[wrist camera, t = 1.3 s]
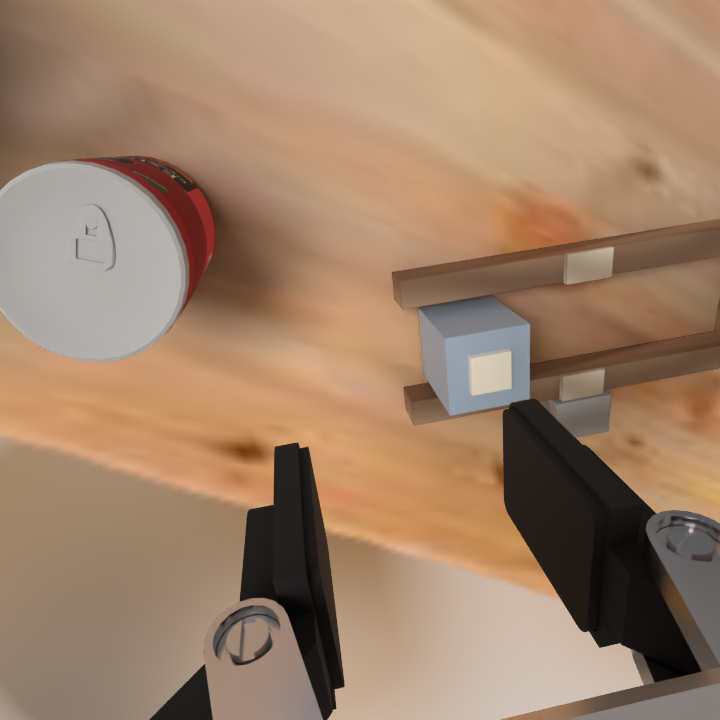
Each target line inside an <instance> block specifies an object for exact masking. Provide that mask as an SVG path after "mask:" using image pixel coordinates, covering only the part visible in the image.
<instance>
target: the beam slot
mask: <svg viewBox="0 0 720 720" xmlns="http://www.w3.org/2000/svg"><path fill="white" fill-rule="evenodd" d="M717 256H720V219H718V220H712V221H706V222H699V223H693V224H687V225H681V226H675V227H668V228H662V229H656V230H650V231H644V232H638V233H631V234H625V235H619V236H613V237H607V238H601V239H594V240H588V241H582V242H576V243H570V244H564V245H557V246H551V247H545V248H539V249H533V250H527V251H520V252H514V253H508V254H502V255H496V256H490V257H483V258H477V259H471V260H465V261H459V262H453V263H446V264H440V265H434V266H428V267H422V268H416V269H409V270H403V271H397V272H392V279H393V289H394V298H395V300H396V301H397V303H398V304H399V305H400V307H401V308H402V309H409V308H415V307H421V306H427V305H433V304H439V303H444V302H450V301H456V300H462V299H468V298H474V297H480V296H486V295H492V294H498V293H504V292H510V291H516V290H522V289H528V288H533V287H539V286H545V285H551V284H557V283H563V282H564V284H566V285H568V284H574V283H580V282H586V281H592V280H598V279H604V278H610V277H612V274H617V273H622V272H628V271H634V270H640V269H646V268H652V267H658V266H664V265H670V264H676V263H682V262H688V261H694V260H700V259H706V258H711V257H717ZM718 368H720V301H719V307H718V313H717V319H716V325H715V331H711V332H705V333H700V334H694V335H689V336H683V337H678V338H672V339H667V340H661V341H656V342H650V343H645V344H639V345H634V346H628V347H623V348H617V349H612V350H606V351H601V352H595V353H590V354H584V355H579V356H573V357H568V358H562V359H557V360H551V361H546V362H540V363H535V364H530V399H536V400H538V401H539V402H540V403H541V404H542V405H543V406H544V407H545V408H546V409H547V410H548V411H549V412H550V413H551V414H552V415H553V416H554V417H555V418H556V419H557V420H558V421H559V422H560V423H561V424H562V425H563V426H564V427H565V428H566V429H567V430H568V431H569V432H570V433H571V434H572V435H573V436H574V437H575V438H576V437H581V436H586V435H591V434H596V433H601V432H606V431H608V429H609V417H610V405H611V394H610V393H609V392H607V391H606V389H612V388H617V387H622V386H628V385H633V384H638V383H643V382H649V381H654V380H659V379H665V378H670V377H675V376H681V375H686V374H691V373H697V372H702V371H707V370H713V369H718ZM404 395H405V405H406V410H407V412H408V415H409V417H410V419H411V421H412V423H413V425H414V426H415V425H420V424H426V423H431V422H436V421H441V420H447V419H452V418H457V417H463V416H468V415H473V414H479V413H484V412H489V411H495V410H500V409H505V408H509V406H510V405H505V406H499V407H494V408H489V409H483V410H478V411H473V412H467V413H462V414H457V415H451V416H450V415H449V414H448V412H447V410H446V409H445V407H444V406H443V404H442V403H441V401H440V399H439V398H438V396H437V395H436V393H435V391H434V390H433V388H432V387H431V385H430V383H424V384H419V385H413V386H408V387H404Z"/></svg>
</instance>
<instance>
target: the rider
mask: <svg viewBox="0 0 720 720" xmlns="http://www.w3.org/2000/svg"><path fill="white" fill-rule="evenodd" d="M418 310H419V321H420V333H421V345H422V357H423V369H424V376H425V377H426V379H427V380H428V382H429V383H430V385H431V387H432V388H433V390H434V391H435V393H436V395H437V396H438V398H439V399H440V401H441V403H442V404H443V406H444V407H445V409H446V410H447V412H448V414H449V415H450V416H451V415H457V414H462V413H467V412H473V411H478V410H483V409H489V408H494V407H499V406H505V405H510V404H511V403H512V402H517V401H522V400H527V399H530V323H528V322H527V321H526V320H524V319H523V318H521V317H520V316H519V315H517V314H516V313H514V312H513V311H512V310H510V309H509V308H507V307H506V306H505V305H503V304H502V303H500V302H499V301H498V300H496V299H495V298H493V297H492V296H491V295H490V296H484V297H478V298H472V299H466V300H460V301H454V302H448V303H442V304H436V305H430V306H424V307H419V308H418Z"/></svg>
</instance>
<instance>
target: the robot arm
mask: <svg viewBox="0 0 720 720" xmlns="http://www.w3.org/2000/svg"><path fill="white" fill-rule="evenodd" d="M503 465H504V502H505V507H506V510H507V512H508V514H509V516H510V518H511V519H512V521H513V523H514V524H515V526H516V527H517V529H518V531H519V532H520V534H521V535H522V537H523V539H524V540H525V542H526V544H527V545H528V547H529V548H530V550H531V552H532V553H533V555H534V556H535V558H536V560H537V561H538V563H539V565H540V566H541V568H542V569H543V571H544V573H545V574H546V576H547V577H548V579H549V581H550V582H551V584H552V585H553V587H554V589H555V590H556V592H557V594H558V595H559V597H560V598H561V600H562V602H563V603H564V605H565V606H566V608H567V610H568V611H569V613H570V614H571V616H572V618H573V619H574V621H575V623H576V624H577V626H578V627H579V628H580V630H581V631H583V632H587V631H589V632H590V633H591V635H592V637H593V638H594V640H595V641H596V643H597V644H598V646H599V647H600V648H601V647H605V646H609V645H614V644H618V643H621V645H623V646H626V647H628V648H630V649H631V652H632V656H633V659H634V662H635V664H636V667H637V669H638V671H639V674H640V676H641V679H642V681H643V684H644V685H643V686H639V687H635V688H631V689H627V690H622V691H618V692H614V693H610V694H606V695H601V696H597V697H593V698H589V699H585V700H580V701H576V702H572V703H569V704H564V705H560V706H555V707H551V708H547V709H543V710H539V711H535V712H531V713H526V714H523V715H518V716H514V717H510V718H506V719H502V720H720V524H719V523H718V522H716V521H715V520H712V519H710V518H708V517H705V516H703V515H700V514H696V513H692V512H688V511H677V510H671V511H664V512H660V513H658V514H656V513H655V512H654V511H653V510H652V509H651V508H650V507H649V506H648V505H647V504H646V503H645V502H644V501H643V500H642V499H641V498H640V497H639V496H638V495H637V494H636V493H635V492H634V491H633V490H632V489H631V488H630V487H629V486H628V485H627V484H626V483H624V482H623V481H622V480H621V479H620V478H619V477H618V476H617V475H616V474H615V473H614V472H613V471H612V470H611V469H610V468H609V467H608V466H607V465H606V464H605V463H604V462H603V461H602V460H601V459H600V458H599V457H598V456H597V455H596V454H595V453H594V452H593V451H592V450H591V449H590V448H588V447H587V446H586V445H582V444H581V443H580V442H579V441H578V440H577V439H576V438H575V437H574V436H573V435H572V434H571V433H570V432H569V431H568V430H567V429H566V428H565V427H564V426H563V425H562V424H561V423H560V422H559V421H558V420H557V419H556V418H555V417H554V416H553V415H552V414H551V413H550V412H549V411H548V410H547V409H546V408H545V407H544V406H543V405H542V404H541V403H540V402H539V401H538V400H536V399H527V400H522V401H517V402H512V403H511V404H510V406H509V409H506V410H504V411H503ZM204 659H205V664H204V665H203V666H202V667H201V668H200V669H199V670H198V671H197V672H196V673H195V674H194V675H193V676H192V677H191V678H190V679H189V681H187V682H186V683H185V684H184V685H183V686H182V687H181V688H180V689H179V690H178V691H177V693H175V695H173V696H172V698H171V699H170V700H168V701H167V703H166V704H165V705H164V706H163V707H162V708H161V709H160V710H159V711H158V712H157V713H156V714H155V715H154V716H153V717H152V718H151V719H150V720H327V719H328V718H329V716H330V715H331V713H332V712H333V711H332V710H334V709H336V700H335V691H334V689H338V688H342V687H344V677H343V668H342V660H341V651H340V643H339V635H338V627H337V618H336V610H335V601H334V593H333V585H332V577H331V569H330V560H329V552H328V545H327V539H326V533H325V528H324V523H323V518H322V513H321V508H320V503H319V498H318V493H317V488H316V483H315V478H314V473H313V468H312V463H311V458H310V453H309V448H308V447H305V448H300V447H299V444H298V443H292V444H287V445H282V446H276V447H275V452H274V505H270V506H265V507H260V508H255V509H250V510H249V511H248V514H247V524H246V536H245V546H244V558H243V569H242V581H241V592H240V602H238V603H236V604H235V605H233V606H231V607H229V608H227V609H226V610H225V611H224V612H223V613H222V614H220V615H219V616H218V617H217V618H216V619H215V621H214V622H213V623H212V625H211V626H210V628H209V629H208V632H207V634H206V637H205V639H204Z"/></svg>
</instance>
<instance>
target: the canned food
mask: <svg viewBox="0 0 720 720" xmlns="http://www.w3.org/2000/svg"><path fill="white" fill-rule="evenodd" d="M214 246H215V226H214V220H213V215H212V213H211V210H210V207H209V205H208V202H207V201H206V199H205V197H204V195H203V194H202V192H201V190H200V189H199V188H198V187H197V186H196V185H195V183H194V182H193V181H192V180H191V179H190V178H189V177H188V176H186V175H185V174H184V173H183V172H182V171H180V170H179V169H177V168H176V167H174V166H172V165H170V164H168V163H166V162H164V161H161V160H158V159H155V158H151V157H142V156H127V157H109V158H91V159H77V160H66V161H60V162H51V163H48V164H45V165H42V166H39V167H36V168H32V169H31V170H28V171H25V172H24V173H22V174H21V175H19V176H17V177H16V178H14V179H12V180H11V181H9V182H8V183H7V184H6V185H5V186H4V187H3V188H2V189H1V190H0V311H1V312H2V314H3V315H4V316H5V317H6V318H7V319H8V321H9V322H10V323H11V324H12V325H13V326H14V327H15V328H16V329H17V330H19V331H20V332H21V333H22V334H23V335H24V336H26V337H27V338H28V339H29V340H31V341H33V342H34V343H36V344H38V345H39V346H41V347H43V348H44V349H46V350H48V351H51V352H53V353H56V354H58V355H61V356H63V357H67V358H71V359H76V360H80V361H89V362H107V361H114V360H121V359H124V358H127V357H130V356H133V355H136V354H138V353H140V352H142V351H143V350H145V349H147V348H149V347H150V346H152V345H153V344H154V343H155V342H157V341H158V340H159V339H160V338H161V337H162V336H163V335H164V334H166V333H167V332H168V331H169V330H170V328H171V327H172V325H173V324H174V323H175V321H176V320H177V319H178V317H179V316H180V314H181V313H182V311H183V310H184V308H185V306H186V304H187V303H188V301H189V299H190V297H191V296H192V294H193V292H194V290H195V289H196V287H197V285H198V283H199V282H200V280H201V278H202V276H203V274H204V273H205V271H206V269H207V267H208V265H209V263H210V260H211V258H212V255H213V251H214Z"/></svg>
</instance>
